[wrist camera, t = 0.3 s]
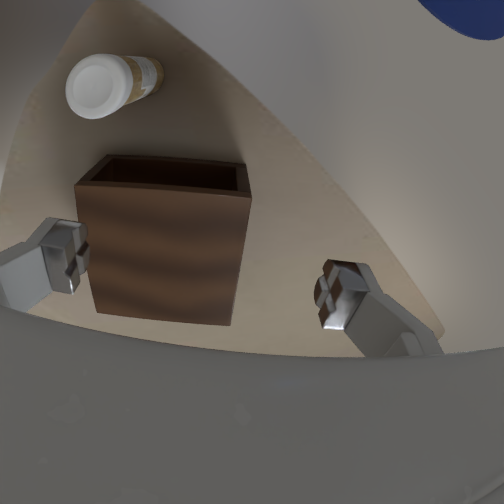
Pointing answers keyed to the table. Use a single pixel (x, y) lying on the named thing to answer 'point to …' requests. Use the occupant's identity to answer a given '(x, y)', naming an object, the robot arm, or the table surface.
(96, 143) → the table surface
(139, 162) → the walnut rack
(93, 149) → the table surface
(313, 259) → the table surface
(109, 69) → the sprinkles bottle
